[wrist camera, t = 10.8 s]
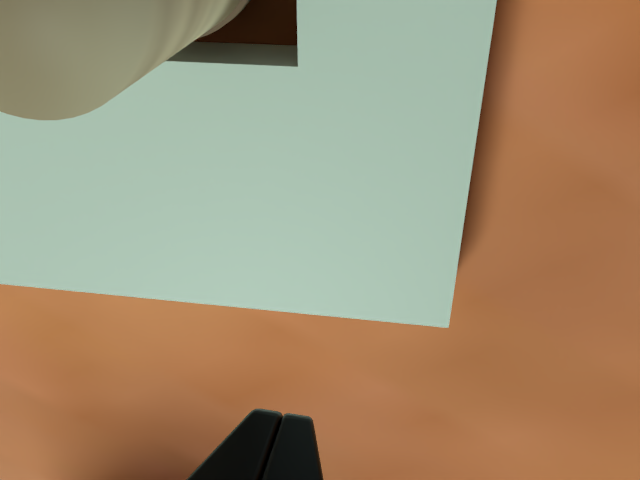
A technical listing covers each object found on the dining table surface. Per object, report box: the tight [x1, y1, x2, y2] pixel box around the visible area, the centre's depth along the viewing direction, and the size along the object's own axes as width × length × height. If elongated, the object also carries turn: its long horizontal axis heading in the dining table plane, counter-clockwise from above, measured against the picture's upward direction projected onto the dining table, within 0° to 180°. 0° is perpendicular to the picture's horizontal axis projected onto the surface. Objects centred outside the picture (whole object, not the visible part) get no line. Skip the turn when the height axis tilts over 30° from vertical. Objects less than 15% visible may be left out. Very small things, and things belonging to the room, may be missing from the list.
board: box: [0, 0, 497, 328], centre depth 15 cm, size 14×16×2 cm
